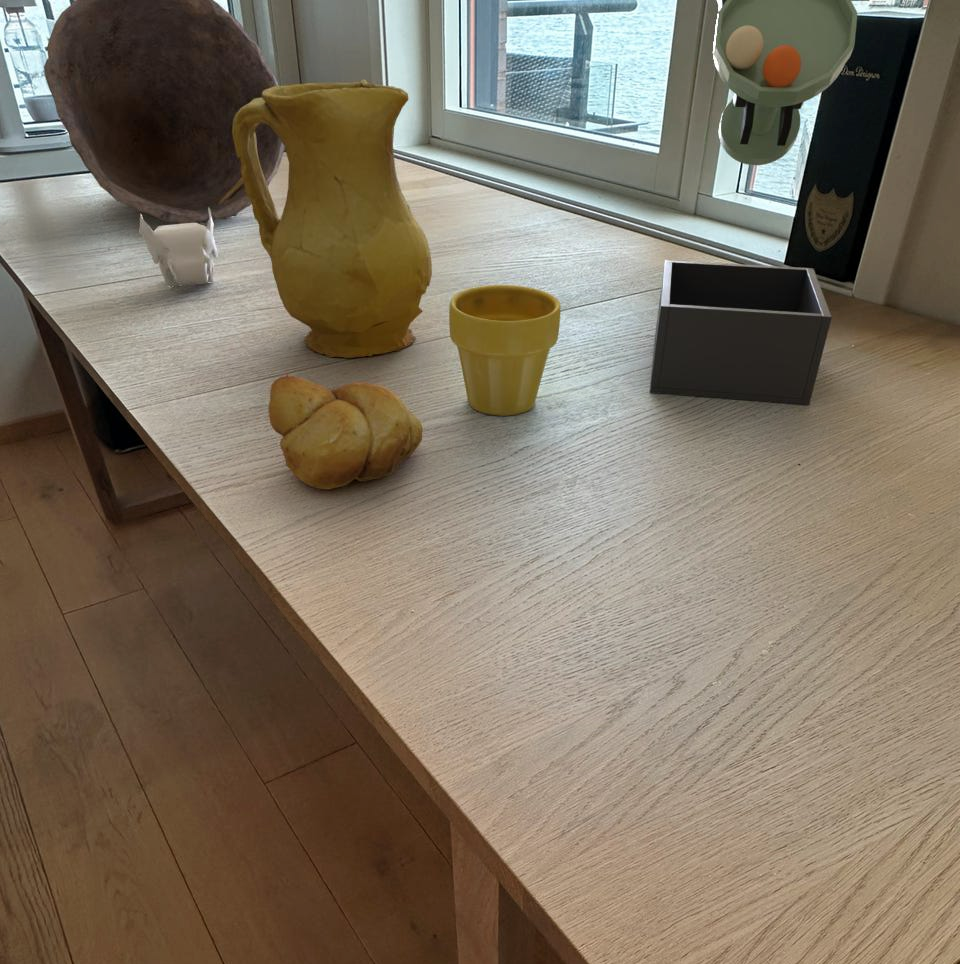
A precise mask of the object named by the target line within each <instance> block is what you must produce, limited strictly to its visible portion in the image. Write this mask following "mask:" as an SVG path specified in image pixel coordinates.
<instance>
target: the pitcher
mask: <svg viewBox="0 0 960 964" xmlns="http://www.w3.org/2000/svg"><path fill="white" fill-rule="evenodd" d="M408 101H409V93H408V92H407V91H405V90H404V89H403V88H401V87H396V86H393V85H381V84H377V83H370V82H367V80H366V79H361V80H360V81H353V82H348V81H347V82H308V83H296V84H291V85H289V84H288V85H287V84H286V85H279V86H275V87H272V88H269V89H265V90H264V91H263V92H262V98H256V99H253V100H252V101H251V102H250V103H249V104H247V105H245V106H244V107H242V108H241V109H240V110H239V111H238V112H237V113H236V115H235V117H234V119H233V128H232V135H233V140H234V145H235V149H236V154H237V158H239V159H240V161H241V164H242V166H241V168H240V169H241V174H242V178H243V181H244V185H245V190H246V194H247V195H248V197H250V198H251V203H252V204H251V206H252V207H251V208H252V213H253V216H254V219H255V220H256V221H257V224H258V228H259V229H258V233H259V236H260V243H261V245H262V247H263V248H264V250H265V251H266V253H267V254H268V257H269V258H270V261H271V271H272V274H273V278H274V281H275V284H276V288H277V291H278V294H279V298H280V300H281V302H282V305H283V308H284V309H285V310H286V311H287V313H288V314H289V316H290V318H291V317H292V318H293V319H295V320H297V321H298V322H300V323H302V324H303V325H305V326H307V327H309V328H310V330H309V332H308V334H306V336H305V337H304V338H303V339H304V341H305V345H306V346H307V347H308V348H309V349H310V350H312V351H314V353H317V354H319V355H325V356H326V357H327V358H338V357H339V358H344V359H349V358H350V359H353V358H354V359H355V358H360V357H363V358H364V357H366V356H368V357H372V356H373V355H383V354H387V353H389V352H390V353H392V352H394V351H400V350H401V349H404V348H407V347H409V346H410V345H411V344H413V343H414V342H415V340H416V336H415V335H414V333H413V329H411V328H410V324H412V323H413V321H414V320H415V319H416V318H418V317H419V316H420V315H421V314H422V313H423V312H424V311H423V310H422V309H421V307H419V306H420V303H421V300H422V296H423V295H424V294H426V292H427V289H428V287H429V286H430V283H431V281H432V275H433V264H432V257H431V256H432V255H431V248H430V246H429V242H428V239H427V236H426V234H425V232H424V230H423V229H422V226H421V225H420V224H419V222H418V221H417V219H416V217H415V216H414V214H413V212H412V211H411V210H412V209H411V207H410V205H409V204H408V202H407V199H406V197H405V195H404V193H403V192H402V189H401V185H400V182H399V180H398V179H399V178H398V175H397V171H396V163H395V162H396V161H395V152H394V136H395V135H394V134H395V125H396V123H397V119H398V118H399V116H400V113H402V112H401V111H402V110H403V107H404V106H406V104H407V102H408ZM259 123H260V124H265V125H269V126H271V127H272V129H273V130H274V132H275V133H276V134H277V136H278V137H279V139H280V140H281V142H282V143H283V144H284V146H285V148H284V151H285V154H286V158H287V160H288V179H287V180H288V181H287V192H286V200H285V203H284V208H283V210H282V214H281V218H279V215H278V211H277V209H276V207H275V203H274V201H273V197H272V194H271V192H270V189H269V185H268V186H267V183H266V179H265V177H264V175H263V172H262V168H261V165H260V162H259V158H258V152H257V140H256V134H255V130H256V128H257V127H258V125H259Z"/></svg>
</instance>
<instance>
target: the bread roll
mask: <svg viewBox="0 0 960 964" xmlns="http://www.w3.org/2000/svg"><path fill="white" fill-rule="evenodd" d="M269 393H270V395H269V403H268V410H267V411H268V419H269V423H270V426H271V428H272V429H273V431H274V432H275V433H277V434H278V435H280V436H281V437H282V438H281V439H280V442H279V443H280V449H281V451H282V454H283V457H284V461H285V467H287V468H288V469H289V470H290V472H291V473H292V474H293V475H294V476H295V477H296V478H297V479H299V481H301V482H302V483H303V484H305V485H308V486H309V487H311V488H316V489H319V490H331V489H336V488H340V487H345V486H346V485H349V484H350V483H351V482H352V481H354V480H356V481H357V482H367V481H371V480H375V479H376V480H377V479H379V478H383V477H386V476H389V475H392V474H393V473H394V472H395V471H396V470H397V469H398V466H399V465H400V464H401V462H403V461H405V460H408V459H409V458H410V457H411V456H412V455H413V453H414V452H415V451H416V450H417V449H418V447H419V446H420V444H421V442H422V440H423V424H422V422H421V421H420V420H419V418H418V417H417V416H416V415H415V414H413V413H412V412H411V411H409V410H408V408H407V406H406V404H405V403H404V401H403V400H402V399H401V398H400V397H399V396H398V395H397V394H396V393H395V392H393V391H392V390H391V389H388V388H386V387H384V386H382V385H381V384H378V383H373V382H368V381H356V382H352V381H351V382H348V383H345V384H342V385H341V386H339V387H337V388H334V389H330V388H328V387H325V386H323V385H320V384H318V383H315V382H313V381H310V380H308V379H304V378H302V377H300V376H295V375H288V374H286V375H285V376H280V377H279V378H277V379H275V380H274V381H273V382H272V384H271V385H270V391H269Z"/></svg>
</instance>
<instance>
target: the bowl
mask: <svg viewBox="0 0 960 964" xmlns="http://www.w3.org/2000/svg"><path fill="white" fill-rule="evenodd" d="M50 33H51V34H50V36H49V39H48V43H47V45H46V51H47V59H46V61H45V63H44V65H43V70H44V76H45V81H46V83H47V86H48V89H49V92H50V94H51V96H52V98H53V102H54V105H55V110H56V114H57V116H58V118H59V121H60V123H61V124H62V125H63V126H64V128H65V130H66V131H67V133H68V137H69V141H70V145H71V146H72V148H73V149H74V151H75V152H76V153H77V154H78V156H79V157H80V159H81V161H82V162H83V164H84V166H85V168H86V169H87V170H88V171H89V173H90V174H91V176H92V177H93V178H94V179H95V181H96V182H97V184H98V185H99V187H100V188H102V189H103V190H104V191H105V192H106V193H108V194H109V195H110V196H111V197H112V198H113V199H114V200H116V201H117V202H118V203H121V204H124V205H127V206H130V207H131V208H133V209H134V210H136V211H138V212H141V213H144V214H147V215H149V216H152V217H154V218H157V219H159V220H161V221H163V222H170V223H177V224H185V223H198V224H199V223H204V224H206V223H208V221H209V218H210V217H209V212H208V207H209V208H210V211H211V217H212V220H213V221H215V220H227V219H229V218H232V217H231V216H235V217H237V215H238V214H239V213H241V212H242V211H244V210H245V209H247V208H248V207H251V206H252V203H251V198H250V197H248V195H247V194H246V190H245V185H244V181H243V178H242V174H241V169H240V168H241V166H242V164H241V161H240V159H239V158H237V154H236V149H235V145H234V140H233V135H232V128H233V119H234V117H235V115H236V113H237V112H238V111H239V110H240V109H241V108H242V107H244V106H245V105H247V104H249V103H250V102H251V101H252V100H253V99H256V98H262V92H263V91H264V90H265V89H269V88H272V87H275V86H280V84H279V83H278V81H277V80H276V78H275V75H274V72H273V70H272V68H271V66H270V64H269V63H268V62H267V60H266V59H265V57H264V54H263V52H262V50H261V49H260V47H259V46H258V45H257V43H256V42H255V40H254V39H253V38H251V37H250V35H249V34H248V32H247V30H246V29H245V28H244V27H243V25H242V24H241V23H240V22H239V20H237V18H236V17H235V16H234V15H233V14H232V13H230V12H229V11H227V10H226V9H225V8H223V6H221V4H219V3H218V2H216V1H215V0H73V1H72V3H71V4H70V5H69V6H68V7H66V9H64V10H63V11H62V12H61V13H60V15H59V16H58V17H57V19H56V20H55V23H54V26H53V28H52V30H51V32H50ZM255 134H256V140H257V152H258V158H259V162H260V165H261V168H262V172H263V175H264V177H265V179H266V183H267V186H268V187H269V185H270V183H271V182H272V180H273V179H274V177H276V175H277V174H278V171H279V168H280V165H281V162H282V158H283V155H284V151H285V146H284V144H283V143H282V142H281V140H280V139H279V137H278V136H277V134H276V133H275V132H274V130H273V129H272V127H271V126H269V125H265V124H260V123H259V125H258V127H257V128H256V130H255Z"/></svg>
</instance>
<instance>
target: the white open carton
mask: <svg viewBox="0 0 960 964" xmlns="http://www.w3.org/2000/svg"><path fill="white" fill-rule="evenodd" d="M208 212H209V217H210V218H209V221H207V224H206V225H207V226H206V225H204V224H199V223H185V224H179V223H177V224H176V223H175V224H166V225H165V224H164V225H159V226H157V227H156V228H155V230H153V229H152V228H151V226H150V225H149V224H148V223H147V222H146V221H145V220H144V218H143V215H142V213H140V214H139V230H138V233H139V234H140V235H141V236H142V237H143V238H144V239H145V241H146V248H147V251H148V252H149V254H150V256H151V257H152V261H153V263H154V264H156V265H157V264H158V267H159V269H160V272H161V274H162V278H163V279H164V281H165V284H166V285H167V287H168V286H170V287H172V286H180V285H183V286H186V285H194V284H196V285H197V284H198V283H206V284H209V283H208V282H212V283H214V277H215V264H214V259H213V257H214V258H218V256H219V254H218V253H219V252H218V249H217V245H216V241H215V236H214V227H215V224H214V220H212V217H211V211H210V208H209V207H208ZM212 256H213V257H212ZM170 287H169V288H170ZM172 288H173V287H172Z"/></svg>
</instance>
